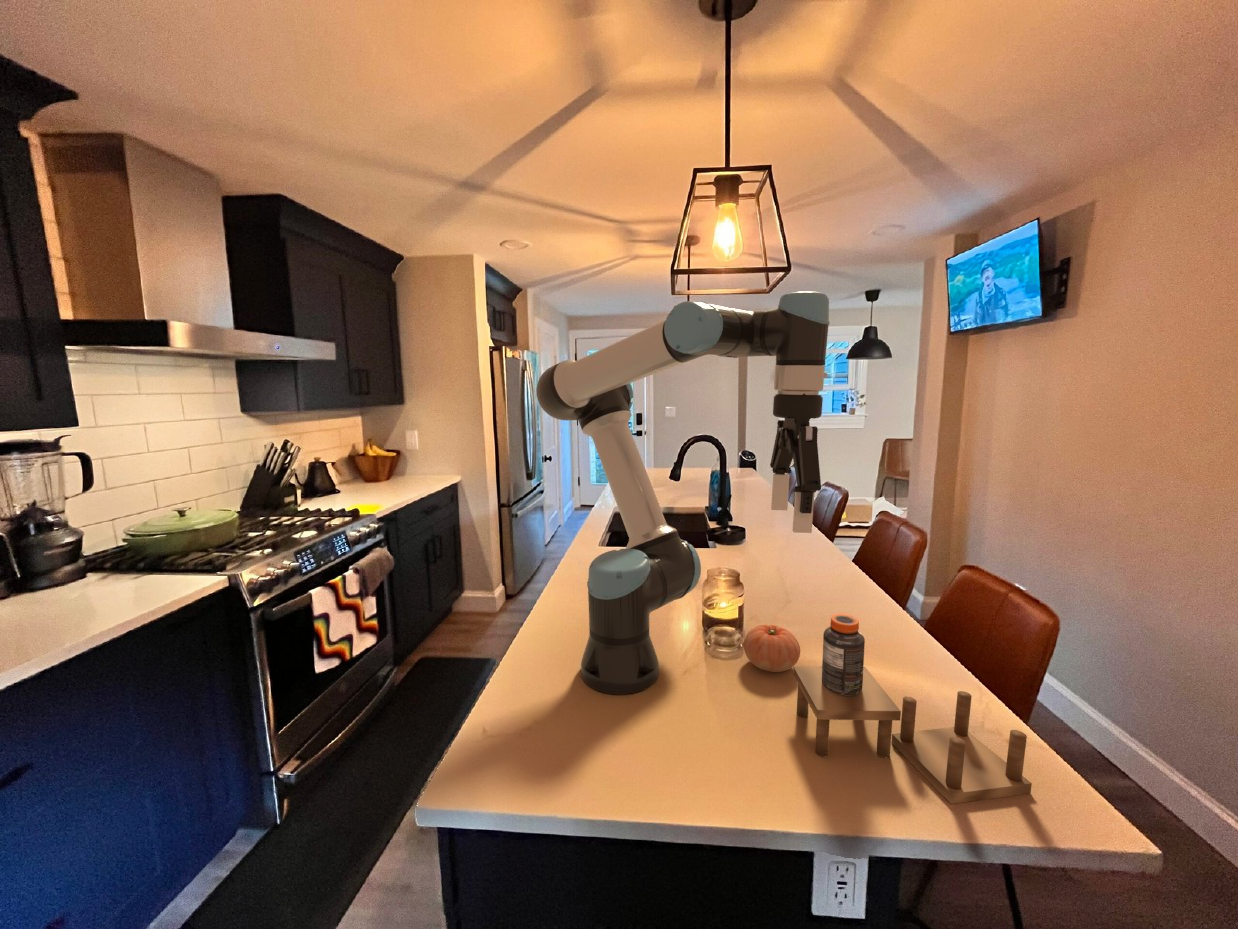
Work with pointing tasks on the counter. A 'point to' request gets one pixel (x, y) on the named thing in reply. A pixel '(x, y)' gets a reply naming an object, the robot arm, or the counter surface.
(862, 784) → the counter surface
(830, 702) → the stool
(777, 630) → the mini pumpkin
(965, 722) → the upturned stool
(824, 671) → the pill bottle
